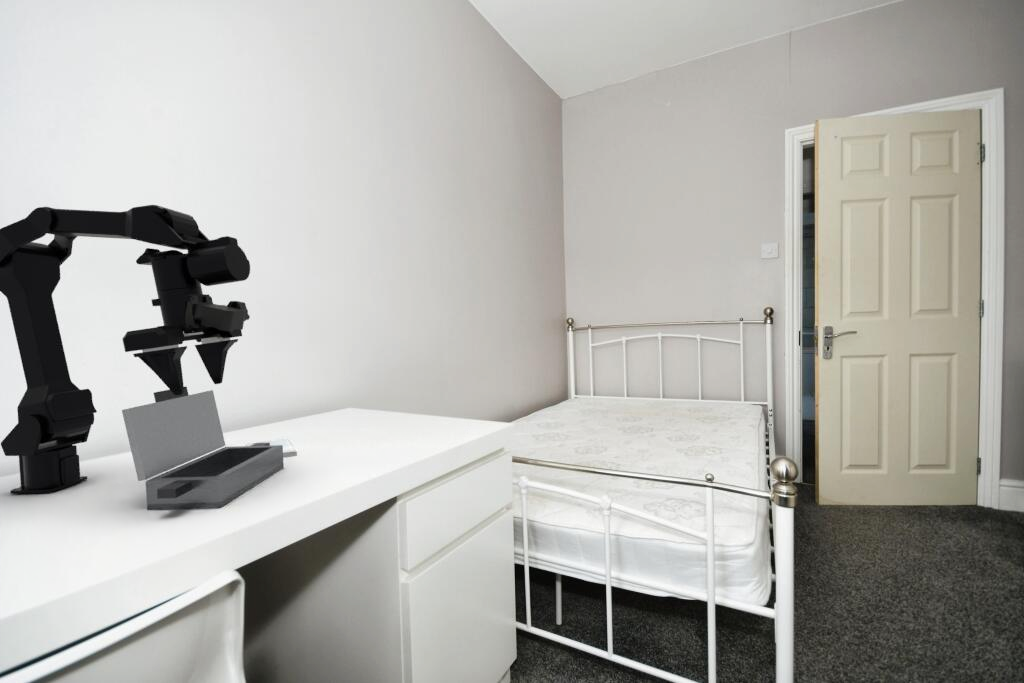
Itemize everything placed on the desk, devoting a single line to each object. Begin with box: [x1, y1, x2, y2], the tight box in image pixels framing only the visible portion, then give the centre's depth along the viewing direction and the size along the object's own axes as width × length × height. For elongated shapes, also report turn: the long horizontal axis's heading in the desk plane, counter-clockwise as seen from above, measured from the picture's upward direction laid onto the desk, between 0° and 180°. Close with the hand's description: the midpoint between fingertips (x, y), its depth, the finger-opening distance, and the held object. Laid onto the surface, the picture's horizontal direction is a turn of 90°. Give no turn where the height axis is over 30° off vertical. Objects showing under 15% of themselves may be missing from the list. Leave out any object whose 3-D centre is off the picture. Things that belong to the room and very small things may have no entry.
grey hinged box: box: [145, 442, 284, 511], centre depth 73 cm, size 10×24×4 cm, turn 0°
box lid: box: [121, 386, 226, 482], centre depth 73 cm, size 12×18×2 cm
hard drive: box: [244, 437, 298, 459], centre depth 93 cm, size 2×8×12 cm
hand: (200, 388), depth 74 cm, fingers open, 9 cm apart
